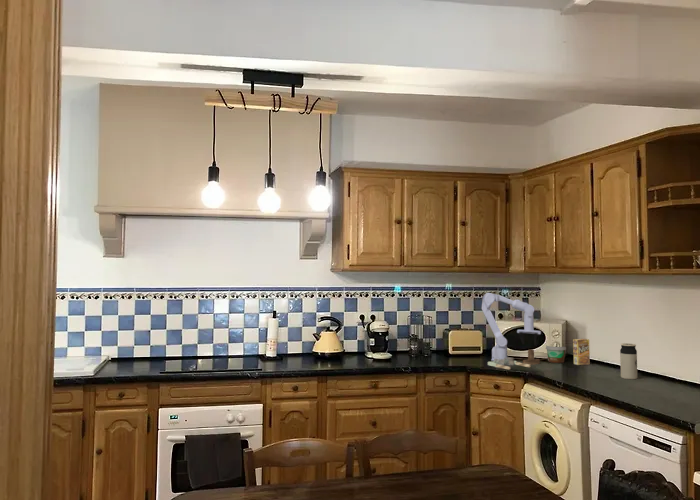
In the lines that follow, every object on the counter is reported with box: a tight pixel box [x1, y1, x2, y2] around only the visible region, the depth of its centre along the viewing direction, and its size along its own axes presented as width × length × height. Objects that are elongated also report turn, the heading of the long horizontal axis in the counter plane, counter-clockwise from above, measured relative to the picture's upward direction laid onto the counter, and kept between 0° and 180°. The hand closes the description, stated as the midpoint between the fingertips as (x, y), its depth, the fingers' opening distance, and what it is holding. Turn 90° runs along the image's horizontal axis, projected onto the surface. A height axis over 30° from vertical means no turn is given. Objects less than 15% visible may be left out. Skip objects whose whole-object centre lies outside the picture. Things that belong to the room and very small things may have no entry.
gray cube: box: [504, 356, 515, 366], centre depth 344 cm, size 4×4×4 cm
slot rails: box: [495, 361, 531, 370], centre depth 335 cm, size 11×17×2 cm, turn 118°
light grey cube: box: [494, 358, 505, 366], centre depth 341 cm, size 4×4×4 cm
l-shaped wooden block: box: [522, 349, 540, 366], centre depth 344 cm, size 2×12×9 cm, turn 118°
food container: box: [545, 345, 567, 364], centre depth 351 cm, size 12×6×10 cm, turn 62°
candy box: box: [572, 338, 591, 366], centre depth 343 cm, size 9×4×15 cm, turn 108°
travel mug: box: [619, 342, 638, 380], centre depth 300 cm, size 8×8×18 cm
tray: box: [487, 360, 518, 368], centre depth 343 cm, size 7×17×2 cm, turn 118°
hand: (529, 345), depth 354 cm, fingers open, 7 cm apart
